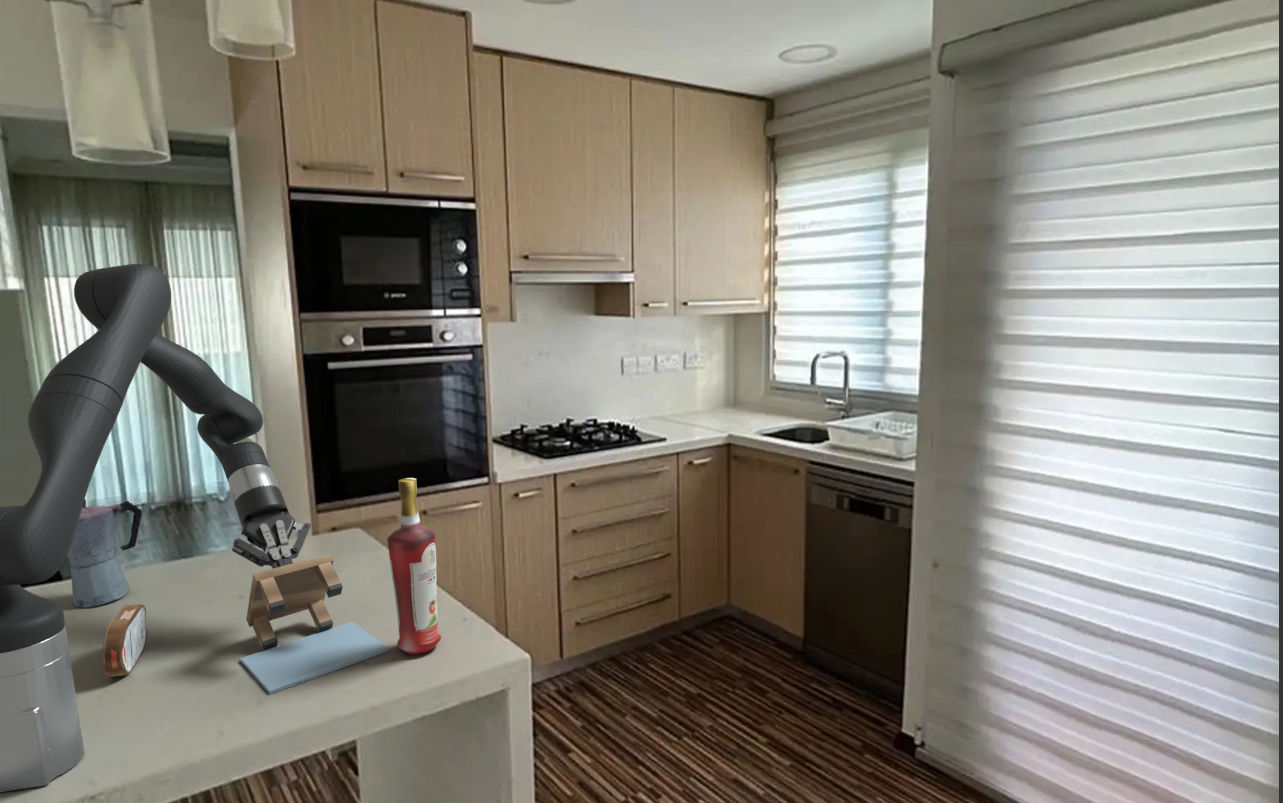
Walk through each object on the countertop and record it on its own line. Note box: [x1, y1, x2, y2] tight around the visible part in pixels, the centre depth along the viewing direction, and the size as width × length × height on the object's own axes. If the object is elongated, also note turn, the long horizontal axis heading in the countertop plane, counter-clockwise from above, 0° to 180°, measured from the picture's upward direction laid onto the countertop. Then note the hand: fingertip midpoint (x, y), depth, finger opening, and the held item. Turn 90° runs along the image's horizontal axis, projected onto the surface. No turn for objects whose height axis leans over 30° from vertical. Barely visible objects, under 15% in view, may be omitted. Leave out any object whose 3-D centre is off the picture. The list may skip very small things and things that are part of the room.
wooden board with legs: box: [246, 553, 343, 651], centre depth 124 cm, size 7×12×12 cm
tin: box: [102, 603, 148, 679], centre depth 119 cm, size 15×3×8 cm, turn 21°
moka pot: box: [66, 499, 143, 609], centre depth 144 cm, size 10×15×20 cm, turn 132°
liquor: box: [386, 477, 442, 656], centre depth 120 cm, size 7×7×28 cm
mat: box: [240, 621, 389, 694], centre depth 120 cm, size 14×18×1 cm
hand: (288, 581), depth 125 cm, fingers closed
